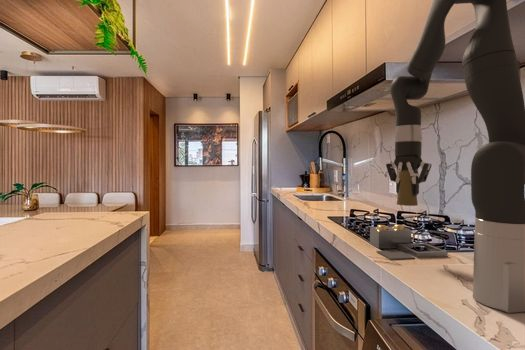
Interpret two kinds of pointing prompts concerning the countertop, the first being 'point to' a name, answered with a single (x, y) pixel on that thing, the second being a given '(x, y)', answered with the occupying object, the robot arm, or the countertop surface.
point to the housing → (402, 242)
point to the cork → (406, 190)
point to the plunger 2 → (399, 227)
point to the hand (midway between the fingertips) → (407, 195)
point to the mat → (395, 255)
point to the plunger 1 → (381, 227)
